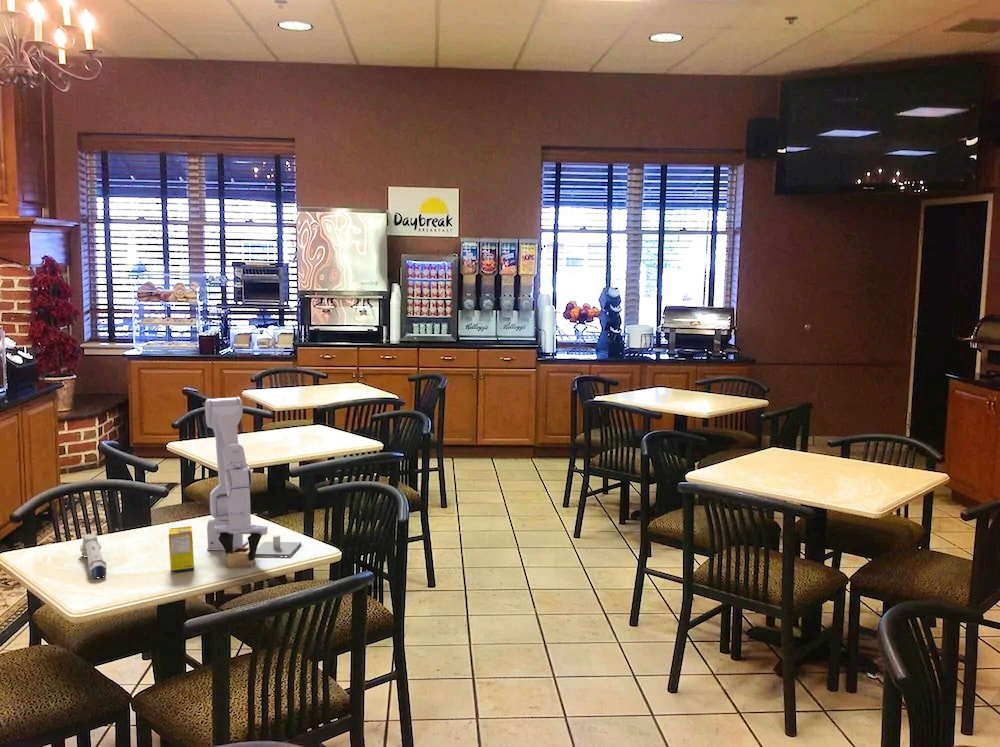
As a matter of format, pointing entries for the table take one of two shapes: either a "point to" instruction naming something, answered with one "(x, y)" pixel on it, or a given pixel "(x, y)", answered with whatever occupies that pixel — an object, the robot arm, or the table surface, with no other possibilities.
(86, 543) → the white flashlight
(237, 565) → the open wooden box
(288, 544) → the hub plate
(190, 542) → the supplement box
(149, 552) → the table surface
